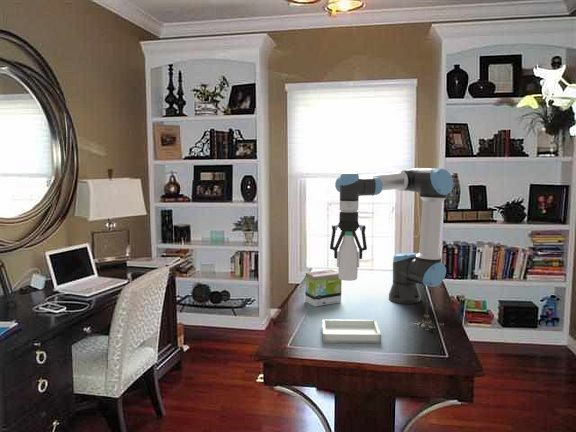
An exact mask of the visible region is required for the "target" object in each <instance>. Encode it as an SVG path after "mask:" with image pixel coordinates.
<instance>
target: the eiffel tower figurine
mask: <svg viewBox="0 0 576 432" xmlns="http://www.w3.org/2000/svg"><path fill="white" fill-rule="evenodd" d="M425 301H426V302H425V303H426V304H425V311H424V315H423V317H422V318H423V319H422V320H421V321H417V322H418V323H414V324H417V325H418V326H416V327H417V328H419V329H422V330H425V331H429V330H432V329H433V330H434V329H435V328H436V326H435V325H438V326H444V325H445V324H444V323H442V322H441V323H439V322H438V324H437V322H435V323H436V324H435V325H434V323H433V322H432V319H431V317H430V313H429V300H428V298H427V299H426V300H425ZM414 324H413V325H414ZM412 329H413V328H412ZM412 329H410V327H408V330H410V331H411V330H412Z"/></svg>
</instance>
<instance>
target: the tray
mask: <svg viewBox="0 0 576 432" xmlns="http://www.w3.org/2000/svg"><path fill="white" fill-rule="evenodd" d="M321 323H322V325H321V326H322V342H323V344H326V343H327V344H382V333H381V331H380V327H379V325H378V322H377V320H376V319H326V318H325V319H323V318H322V322H321Z"/></svg>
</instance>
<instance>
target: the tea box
mask: <svg viewBox="0 0 576 432" xmlns="http://www.w3.org/2000/svg"><path fill="white" fill-rule="evenodd" d="M304 281H305V286H304V288H305V289H304V291H305V292H304V302H305V303H307V304H309V305H311V306H313V307H314V308H316V307H320V306H325V305H326V306H327V305H331V304H332V305H333V304H341V303H342V283H343V282H342V281H343V280H341V279H339V277H338V271H335V270H333V269H325V270H318V271H309V272H305V279H304Z"/></svg>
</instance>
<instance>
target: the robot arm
mask: <svg viewBox="0 0 576 432" xmlns="http://www.w3.org/2000/svg"><path fill="white" fill-rule="evenodd" d="M334 183H335V184H334V185H335V189H336V191H337V192H339V210H340V211H339V216H338V217H339V222H338V224H332V225H331V229H332V230H331V231H332V232H331V237H330V245H329V249H330V250H332V251H333V254H334V255H333V257H334V259H336V268H339V248H340V246H341V244H342V241H343V236H344V234H345V232H346V231H352V233H353V235H354V241H355V244H356V246H357V252H358V257H357V269H358V268H360V260H362V259H363V252H364V251H367V250H368V246H367V245H368V244H367V237H366V232H365V231H366V227H367V226H366V225H362V224H360V223H359V198H360V197H361V196H363V197H364V196H365V197H366V196H372V197H374V196H378V195H379V194H381V193H382V191H390V190H397V191H398V192H399V191H400V192H403V191H405V192H414V193H419V199H421V200H422V208H421V217H420V218H421V220H420V233H419V234H420V235H419V236H420V237H419V248H418V249H419V250H418V253H417V252H400V253H396V254H394V255H393V257H392V259H393V260H392V284H391V287H390V290H389V293H388V300H389V301H390V302H394V303H396V304H404V305H412V304H418V303H420V302H421V293H420V290H419V287H418V284H419V285H422V286H423V285H424V286H426V287H431V288H435V287H438V286H440V285H441V284H442V282H443V281H444V280H445V279H446V278H445V277H446V274H447V268H446V266H445V264H444V263H443V262H442V256H441V254H439V251H440V250H439V248H440V237H441V235H440V234H441V225H442V224H441V221H442V212H443V211H442V210H443V208H442V207H443V202H444V201H445V200H446V199H447V195H449V194H450V193H451V190H453V186H454V184H453V183H454V181H453V177H452V174H451V173H450V171H448V170H447V169H445V168H439V167H414V168H408V169H402V170H400V169H399V170H397V171H395V172H391V173H389V172H387V173H376V174H363V175H359V173H358V172H342V173H340V176H338V177H337V178H336V180H335V182H334ZM338 228H339V229H340V230H339V231H340V234H339V237H338V239H337V241H336V244H334V243H335V238H336V231H337V230H338ZM357 230H360V232H361V238H362V244H361V242H360V240H359V237H358V236H357ZM361 245H362V246H361Z"/></svg>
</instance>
